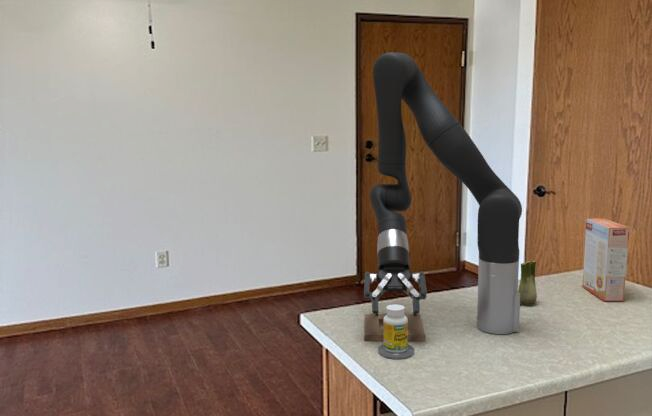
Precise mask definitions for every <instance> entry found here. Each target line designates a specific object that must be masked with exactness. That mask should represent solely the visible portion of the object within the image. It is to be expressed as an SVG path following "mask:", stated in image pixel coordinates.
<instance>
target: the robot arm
mask: <svg viewBox="0 0 652 416" xmlns="http://www.w3.org/2000/svg"><path fill="white" fill-rule="evenodd" d="M372 79H373V86H374V87H373V88H374V93H375V103H376V112H377V123H378V124H377V129H378V136H377V137H378V138H377V139H378V140H377V141H378V145H377V171H378V173H379V175H383V176H384V177H385V176H386V177H391V178H394V179H395V180H396V181H397V183H394V184H393V183H390V184H389V183H380V184H379V183H377V184H375V185H374V186H373V187H372V188H371V190H370V191H369V192H370V193H369V201H370V206H371V209H372V210H373V213H374V216H375V219H376V222H377V223H376V224H377V244H376V245H377V246H376V250H377V251H376V254H377V273H371V272H370V271H365V272H364V273H365V274H364V285H363V286H364V287H363V298H364V300H370V301H371V312H372V314H375V316H378V314H380V312H379V299H380V297H382V296H383V294H384V293H385V292H387V293H402V292H404V293H405V294H406V295H407V296H408V297H409V298H411V299H412V303H411V305H412V314H413V316H417V314H420V309H421V308H420V307H421V306H420V301H421V300H426V299H427V294H428V292H427V291H428V290H427V284H426V277H425V273H424V271H419V273H412V271H411V263H410V249H409V248H410V247H409V240H408V235H407V234H408V233H407V221H406V218H405V216H404V215H403V214H401V213H399V212H406V211H407V210H409V208H410V207H411V205H412V193H411V190H410V186H409V183H408V182H409V181H408V177H407V171H406V169H407V167H406V166H407V165H406V164H407V163H406V161H407V160H406V159H407V158H406V157H407V138H406V132H405V127H404V123H403V118H402V117H403V115H402V101H403V102H404V104H406V106H407V107H408V109H410V111H411V112H412V115H413V117H414V119H415V122H416V125H417V127H418V129H419V132H420V135H421V137H422V139H423V140H424V143H425V144H426V145H427V147H428V148H429V150H430V151H431V152H432V153H433V155H434V156H435V157H436V159H437V160H438V162H440V163H441V165H442V166H443V167H445V169H447V170H448V171H449V173H451V174H452V175H453V176H454V177H456V178H457V179H458V180H460V182H461V183H463V184H464V185H465V186H466V188H467V189H468V190H469V192H470V193H471V194H472V196H473V197H474V199H475V201H476V202H477V204H478V205H479V207H478V212H477V248H478V274H477V275H478V279H477V304H476V305H477V308H476V309H477V310H476V311H477V314H476V327H477V329H479V330H480V331H483V332H485V333H488V334H494V335H508V334H512V333H519V332H520V313H521V312H520V308H521V306H520V305H521V304H520V293H519V292H518V290H519V271H520V270H519V268H520V267H519V265H520V262H519V261H520V247H519V245H520V243H519V235H520V220H521V217H522V213H523V207H522V206H523V205H522V203H521V201H520V198H518V196H517V195H516V194H515V193H514V192H513V191H512V190H511V189H510V188H509V187H508V186H507V185H506V184H505V183H504V181H503V180H502V179H501V178H500V177H499V176H498V175H497V174H496V172H495V171H494V170H493V169H492V168H491V166H490V165H489V163H488V162H487V160H486V158H485V157H484V155H483V153H482V152H481V151H480V150H479V148H478V147H477V145H476V144H475V142H474V141H473V138H471V136H470V135H469V134H468V132H467V131H466V129H465V128H464V127H463V126H462V124H461V123H460V122H459V120H458V119H457V118H456V117H455V115H454V114H452V112H451V110H450V109H449V108H448V107H447V106H446V105H445V103H444V102H443V101H442V100H441V99H440V98H439V96H438V95H437V94H436V93H435V91H434V90H433V88H432V87H431V85H430V84H429V82H428V80H427V79H426V77H425V76H424V73H422V70H421V69H420V67H419V65H418V64H417V62H416V61H415V60H414V58H413V57H412V56H411V55H408V54H407V53H403V52H393V51H391V52H390V51H389V52H385V53H383V54H382V55H379V57H378V58H377V59H376V60H375V62H374V64H373V68H372ZM375 280H376V281H377V284H378V285H377V287H376V289H375V290H374V291H373V292H372V291H370V288H371V287H370V286H371V284H374V281H375ZM413 280H414V281H415V283H416V284H418V287H419V292H418V291H417V289H415V288H414V285H413V284H412V283H411V282H412V281H413Z"/></svg>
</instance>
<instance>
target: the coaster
mask: <svg viewBox="0 0 652 416" xmlns="http://www.w3.org/2000/svg"><path fill="white" fill-rule="evenodd" d="M377 353H378V355H380V356H381V357H383V358H385V359H390V360H405V359H409V358H411V357H413V356H414V355H415V348H414V346H413V345H410V344H409V343H408V348H407V350H406V351H405V352H402V353H391V352H388V351H386V350H385V349H384V343H382V344H380V345H379V346H378V347H377Z"/></svg>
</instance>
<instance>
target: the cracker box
mask: <svg viewBox="0 0 652 416" xmlns="http://www.w3.org/2000/svg"><path fill="white" fill-rule="evenodd" d="M629 239H630V227H629V226H628V225H624V224H621V223H618V222H616V221H613V220H610V219H608V218H603V217H602V218H601V217H600V218H599V217H598V218H586V222H585V238H584V252H583V253H584V255H583V272H582V273H583V274H582V284H581V285H582V288H583V289H585V290H587V292H590V293H591V294H592V295H594V296H595V297H597V298H598V299H600V300H601V301H603V302H624V300H625V293H626V292H625V289H626V288H625V287H626V280H627V279H626V278H627V277H626V275H627V266H628V265H627V261H628V253H629V252H628V249H629Z"/></svg>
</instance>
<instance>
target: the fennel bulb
mask: <svg viewBox="0 0 652 416" xmlns="http://www.w3.org/2000/svg"><path fill="white" fill-rule="evenodd" d="M536 264H537V262H536V260H528V261H525V262H522V263H520V281H519V284H518V292H519V293H520V305H521V306H531V305H534V304H535V303H536V302H537V300H538V299H537V297H538V296H537V287H536Z"/></svg>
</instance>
